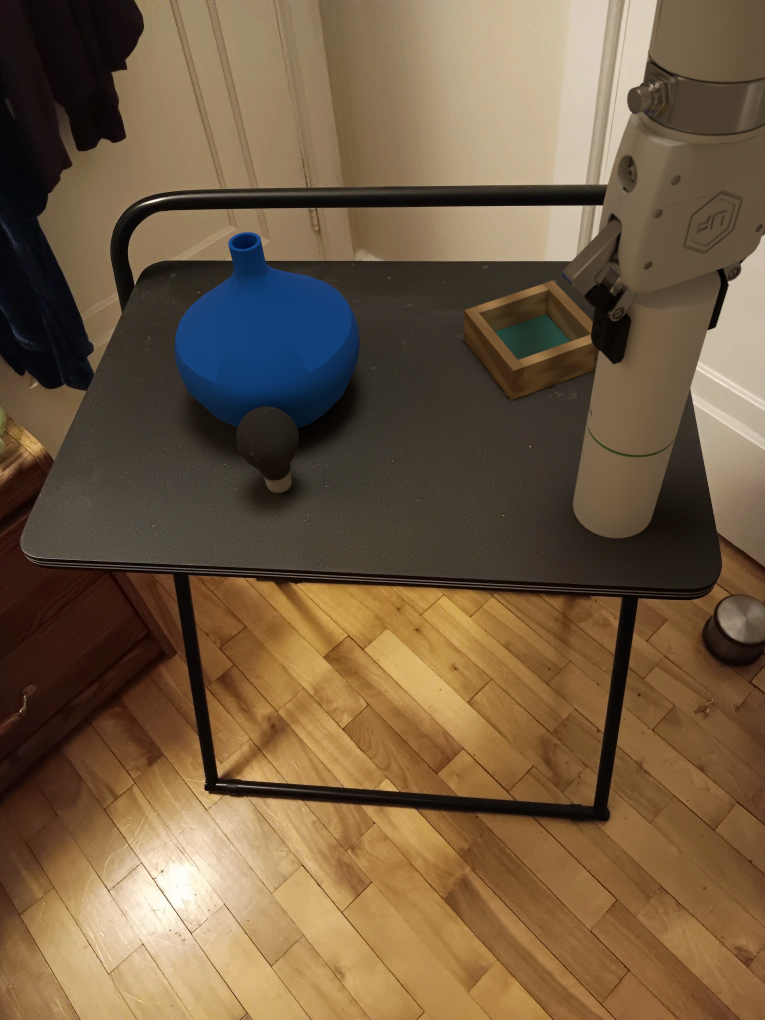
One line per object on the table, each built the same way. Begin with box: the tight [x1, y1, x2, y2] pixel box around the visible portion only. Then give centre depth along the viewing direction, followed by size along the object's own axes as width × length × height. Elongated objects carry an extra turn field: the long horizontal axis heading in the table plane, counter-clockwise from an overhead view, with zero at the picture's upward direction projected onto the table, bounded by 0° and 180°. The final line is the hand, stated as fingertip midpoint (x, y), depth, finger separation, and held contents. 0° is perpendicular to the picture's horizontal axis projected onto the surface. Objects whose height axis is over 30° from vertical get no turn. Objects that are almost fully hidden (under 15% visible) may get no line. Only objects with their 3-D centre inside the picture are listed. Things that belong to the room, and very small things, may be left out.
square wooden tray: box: [463, 280, 599, 401], centre depth 88 cm, size 11×11×4 cm
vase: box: [173, 231, 361, 430], centre depth 81 cm, size 18×18×19 cm
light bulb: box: [235, 406, 300, 494], centre depth 76 cm, size 6×6×10 cm
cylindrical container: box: [572, 270, 721, 539], centre depth 66 cm, size 7×7×25 cm
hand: (653, 333), depth 60 cm, fingers closed on cylindrical container, 7 cm apart
